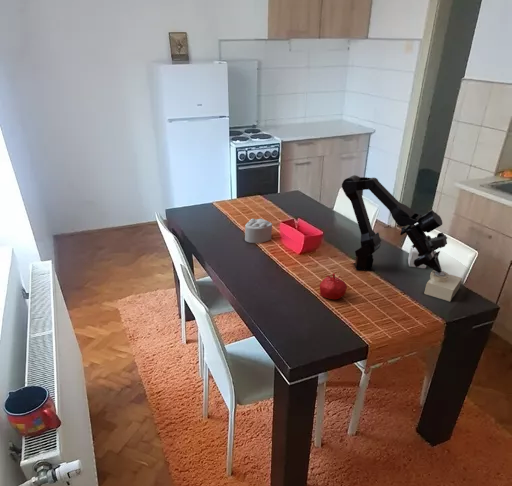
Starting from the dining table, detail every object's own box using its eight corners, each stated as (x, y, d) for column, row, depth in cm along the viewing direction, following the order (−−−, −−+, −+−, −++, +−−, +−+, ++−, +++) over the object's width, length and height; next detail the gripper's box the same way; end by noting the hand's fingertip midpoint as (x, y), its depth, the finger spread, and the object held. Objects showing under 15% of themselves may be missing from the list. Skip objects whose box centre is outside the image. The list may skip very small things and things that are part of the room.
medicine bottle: (425, 268, 202) (432, 243, 196) (408, 266, 203) (415, 241, 197) (424, 262, 208) (430, 236, 202) (407, 260, 209) (413, 234, 203)
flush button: (432, 277, 183) (434, 273, 182) (435, 274, 185) (436, 269, 184) (442, 280, 181) (443, 275, 180) (444, 277, 184) (446, 272, 183)
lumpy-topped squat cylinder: (274, 238, 224) (275, 221, 219) (254, 245, 216) (255, 227, 212) (259, 232, 230) (259, 215, 226) (239, 238, 222) (239, 221, 218)
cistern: (422, 293, 183) (426, 277, 179) (432, 281, 192) (436, 265, 189) (450, 301, 178) (454, 285, 174) (458, 289, 187) (463, 273, 184)
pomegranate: (338, 305, 172) (342, 282, 167) (314, 297, 177) (317, 275, 172) (349, 294, 180) (352, 272, 175) (325, 287, 184) (328, 265, 179)
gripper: (429, 235, 169) (452, 271, 170) (444, 221, 182) (465, 254, 183) (403, 249, 177) (426, 284, 178) (419, 235, 190) (440, 267, 191)
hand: (440, 272), depth 182 cm, fingers closed, pressing on flush button
